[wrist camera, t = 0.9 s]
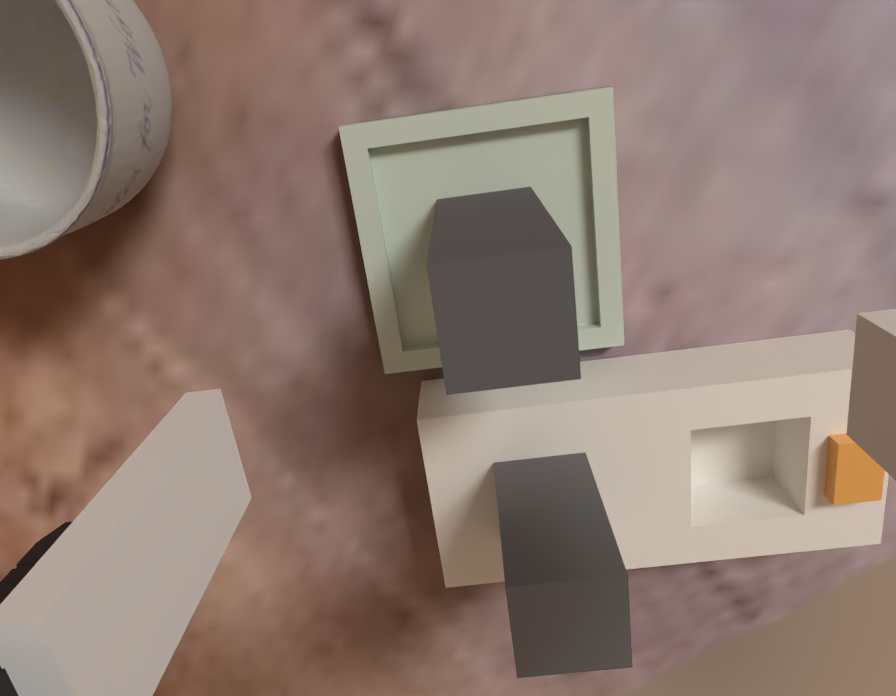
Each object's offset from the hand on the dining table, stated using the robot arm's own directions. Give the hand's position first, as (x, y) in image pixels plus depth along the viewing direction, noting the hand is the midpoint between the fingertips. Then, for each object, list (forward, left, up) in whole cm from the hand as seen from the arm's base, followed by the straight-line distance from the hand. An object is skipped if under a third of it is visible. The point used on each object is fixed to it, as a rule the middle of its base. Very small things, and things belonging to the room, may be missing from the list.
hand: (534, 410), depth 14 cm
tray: (0, 0, -17) cm, 17 cm away
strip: (+6, -11, -17) cm, 21 cm away
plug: (0, 0, -17) cm, 17 cm away
